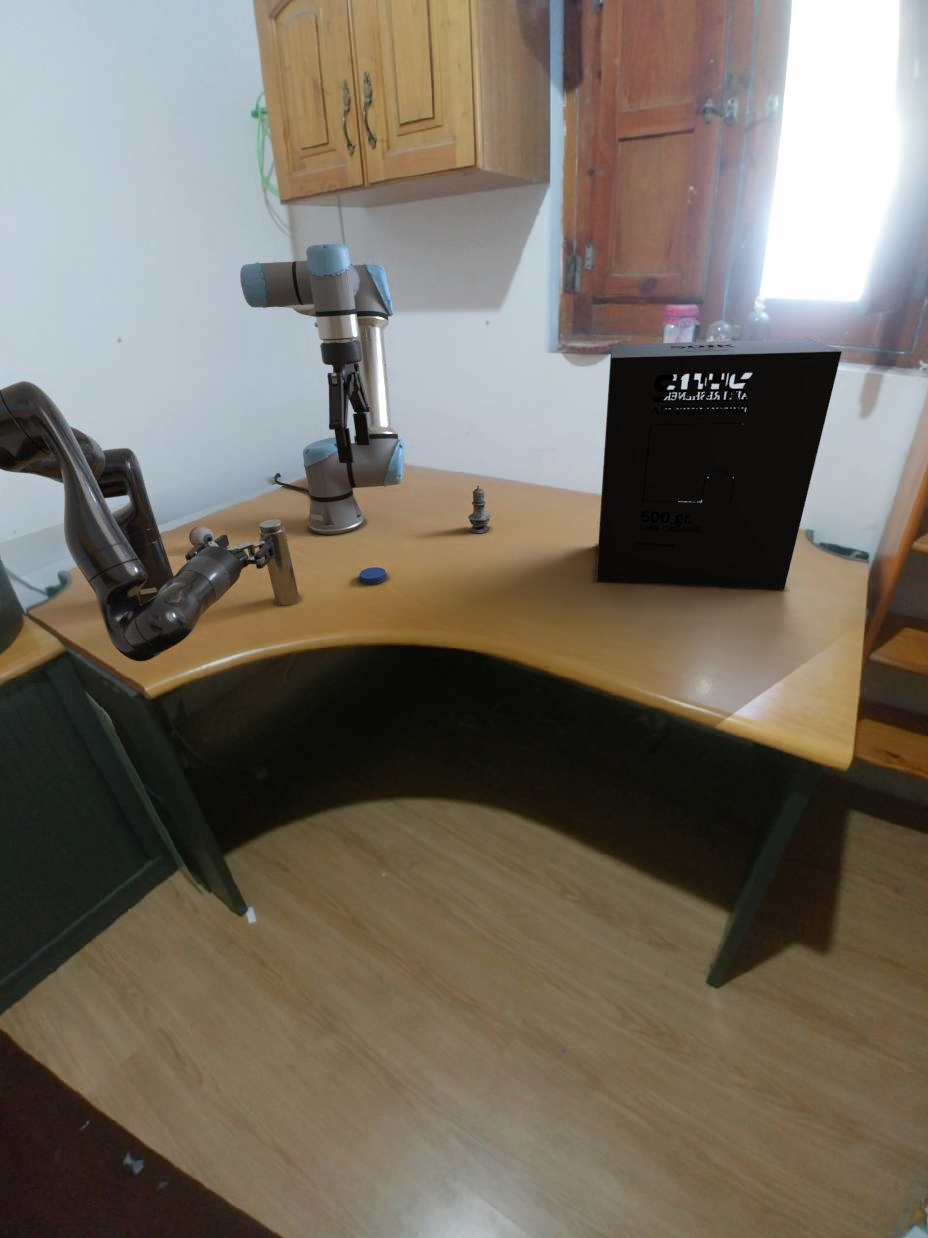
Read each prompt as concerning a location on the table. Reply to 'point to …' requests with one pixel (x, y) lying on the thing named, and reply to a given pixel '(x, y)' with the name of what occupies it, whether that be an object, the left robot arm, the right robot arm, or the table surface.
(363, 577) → the lid
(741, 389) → the cardboard box
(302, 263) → the right robot arm
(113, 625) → the left robot arm
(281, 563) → the bottle
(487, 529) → the grey tall turned piece
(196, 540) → the eyeball
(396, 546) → the table surface
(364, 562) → the table surface
